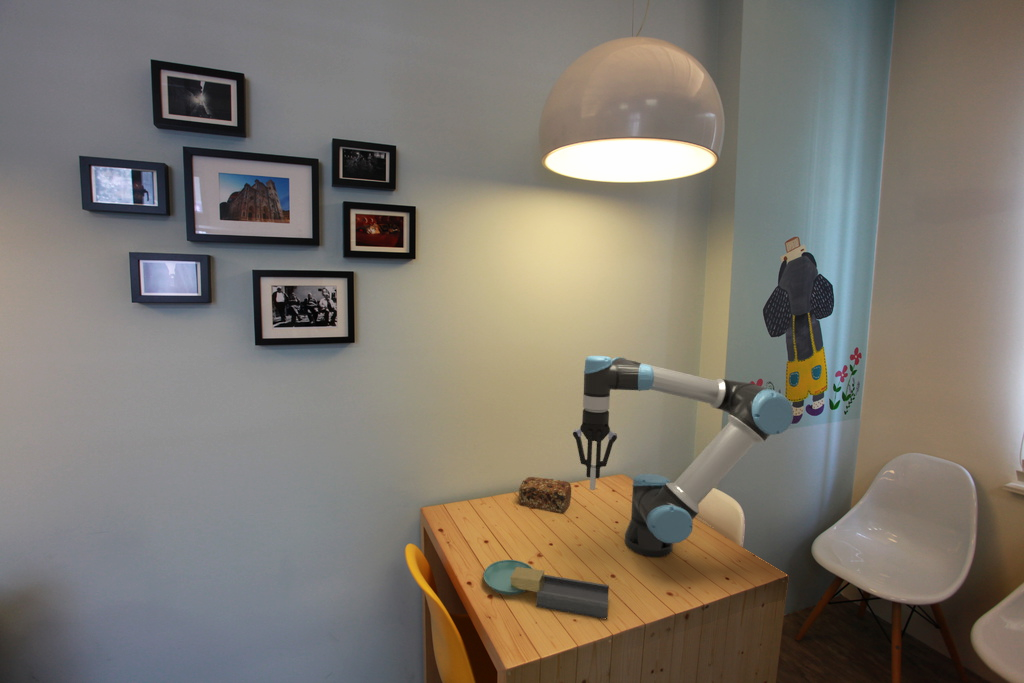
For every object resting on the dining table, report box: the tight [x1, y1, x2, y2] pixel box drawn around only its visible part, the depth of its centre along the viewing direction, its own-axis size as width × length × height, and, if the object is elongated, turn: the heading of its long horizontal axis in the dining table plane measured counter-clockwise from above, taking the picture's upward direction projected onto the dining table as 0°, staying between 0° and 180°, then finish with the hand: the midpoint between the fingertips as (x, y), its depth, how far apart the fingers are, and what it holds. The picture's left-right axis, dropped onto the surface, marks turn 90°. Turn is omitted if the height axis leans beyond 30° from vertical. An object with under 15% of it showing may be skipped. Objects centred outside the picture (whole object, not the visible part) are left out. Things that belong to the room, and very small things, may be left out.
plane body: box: [535, 574, 610, 620], centre depth 120 cm, size 18×8×4 cm, turn 77°
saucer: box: [483, 559, 534, 596], centre depth 128 cm, size 15×15×3 cm
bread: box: [518, 476, 572, 514], centre depth 178 cm, size 19×11×10 cm, turn 67°
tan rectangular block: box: [510, 567, 546, 593], centre depth 123 cm, size 8×5×3 cm, turn 70°
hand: (592, 487), depth 135 cm, fingers closed
